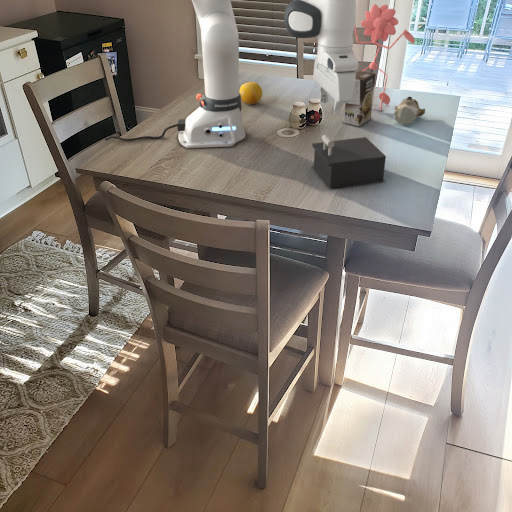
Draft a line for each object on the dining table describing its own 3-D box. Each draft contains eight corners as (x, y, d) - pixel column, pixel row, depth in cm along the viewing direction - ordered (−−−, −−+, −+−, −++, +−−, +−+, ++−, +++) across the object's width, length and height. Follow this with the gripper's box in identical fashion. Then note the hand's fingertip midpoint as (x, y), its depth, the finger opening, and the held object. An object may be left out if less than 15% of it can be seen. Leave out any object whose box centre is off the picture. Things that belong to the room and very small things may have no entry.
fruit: (235, 104, 212) (234, 83, 207) (246, 98, 218) (246, 77, 213) (255, 108, 208) (254, 87, 204) (266, 102, 214) (266, 81, 209)
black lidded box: (330, 188, 156) (331, 165, 152) (313, 167, 167) (314, 145, 163) (382, 181, 159) (385, 159, 155) (363, 161, 170) (365, 139, 166)
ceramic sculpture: (390, 99, 188) (399, 88, 200) (386, 124, 193) (396, 112, 204) (421, 104, 184) (430, 93, 196) (417, 129, 189) (425, 117, 201)
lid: (328, 166, 151) (329, 148, 148) (311, 146, 163) (312, 129, 160) (385, 158, 155) (388, 141, 152) (365, 139, 166) (367, 122, 163)
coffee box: (359, 126, 192) (363, 80, 183) (343, 122, 195) (346, 76, 186) (371, 118, 198) (376, 73, 189) (355, 115, 201) (359, 70, 192)
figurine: (403, 114, 201) (418, 10, 181) (333, 106, 209) (340, 6, 189) (408, 100, 213) (423, 1, 193) (342, 93, 220) (349, -3, 200)
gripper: (309, 45, 149) (306, 96, 157) (337, 67, 133) (332, 122, 141) (331, 44, 151) (327, 94, 159) (361, 65, 135) (355, 120, 142)
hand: (329, 107), depth 150 cm, fingers open, 8 cm apart
